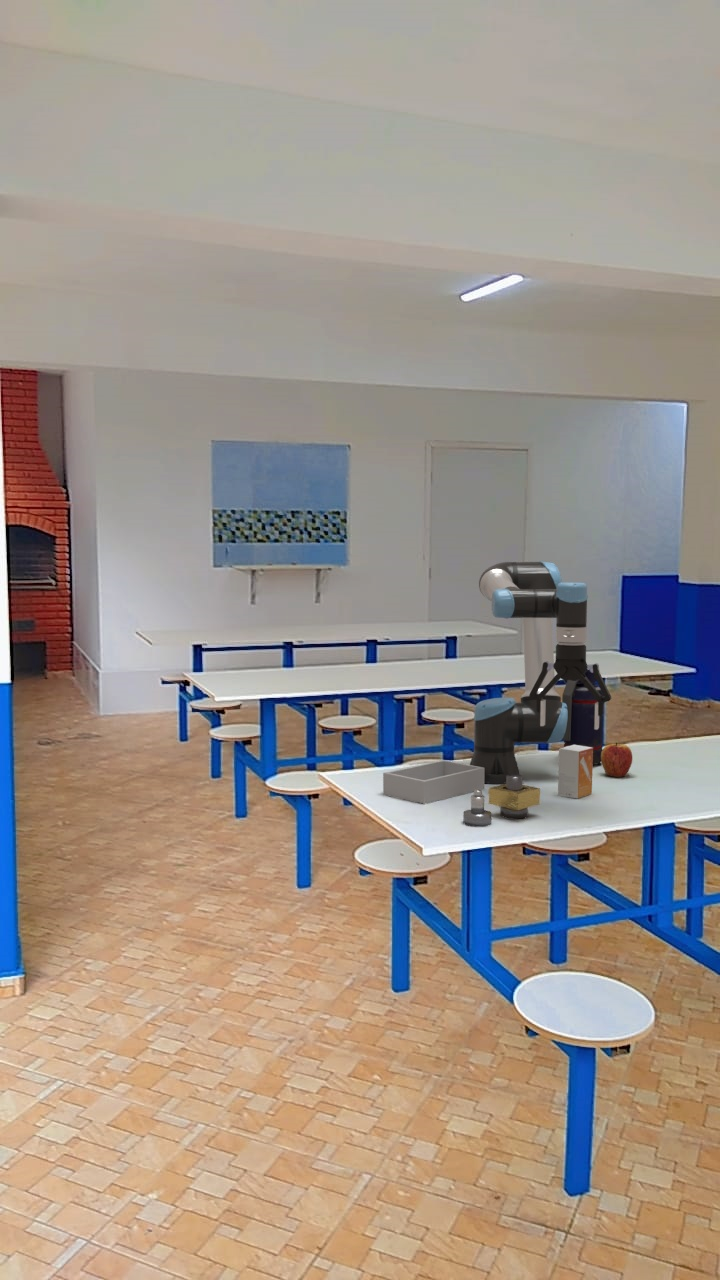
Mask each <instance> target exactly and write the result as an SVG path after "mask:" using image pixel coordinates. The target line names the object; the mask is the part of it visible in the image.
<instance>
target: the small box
mask: <svg viewBox="0 0 720 1280" xmlns="http://www.w3.org/2000/svg"><path fill="white" fill-rule="evenodd" d="M593 765H594V764H593V747H586V746H579V745H571V746H567V747H564V746H563V747H561V748H559V749H558V771H557V773H558V775H557V776H558V778H557V779H558V781H557V796H558V797H559V796H561V797H564V798H565V797H566V798H572V799H581V798H584V797H585V796H586V797H587V796H589V795H592V794H593V767H594V766H593Z"/></svg>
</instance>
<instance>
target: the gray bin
mask: <svg viewBox="0 0 720 1280" xmlns="http://www.w3.org/2000/svg"><path fill="white" fill-rule="evenodd" d="M382 781H383V782H382V784H383V785H382V789H383V790H382V792H383V793H382V794H383V795H384V796H389V797H393V798H397V799H400V800H404V799H405V801H409V800H410V802H413V801H414V803H417V802H420V803H419V804H421V803H423V804H422V805H426V804H425V803H427V804H431V803H434V801H435V802H439V801H442V800H446V799H449V798H453V797H458V796H462V795H466V794H471V793H474V790H481V791H482V790H485V783H484V768H483V767H478V766H472V765H470V764H466V763H461V762H456V761H451V760H445V759H442V760H438V761H432V762H428V763H423V764H419V765H418V764H417V765H414V766H409V767H405V768H398V769H395V770H390V771H385V772H383V779H382ZM438 800H439V801H438ZM430 802H431V803H430Z"/></svg>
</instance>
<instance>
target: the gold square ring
mask: <svg viewBox="0 0 720 1280" xmlns="http://www.w3.org/2000/svg"><path fill="white" fill-rule="evenodd" d="M540 798H541V788H540V787H535V786H531V785H525V784H523V789H522V790H520V791H512V790H507V789H506V783H502V784H500V785H499V784H498V785H496V786H491V787H489V788H488V804H489V805H493V806H496V807H500V806H501V807H506V808H510V809H515V810H520V809H524V808H527V807H528V808H531V807H535V806H537V805H540V802H541V801H540V800H541V799H540Z"/></svg>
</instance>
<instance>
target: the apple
mask: <svg viewBox="0 0 720 1280" xmlns="http://www.w3.org/2000/svg"><path fill="white" fill-rule="evenodd" d="M632 763H633V754H632V750H631V748H630V746H628V745H627V744H624V743H623V744H618V742H615V743H611V744H610V743H609V744H607V745H605V746H604V747H602V752H601V765H602V768H603V769H604V770H603V771H604V772H605V774H607V775H608V776H611V777H614V778H615V777H616V778H622V777H625V776H626V775H628V773H629V772H630V768H631V766H632Z"/></svg>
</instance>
